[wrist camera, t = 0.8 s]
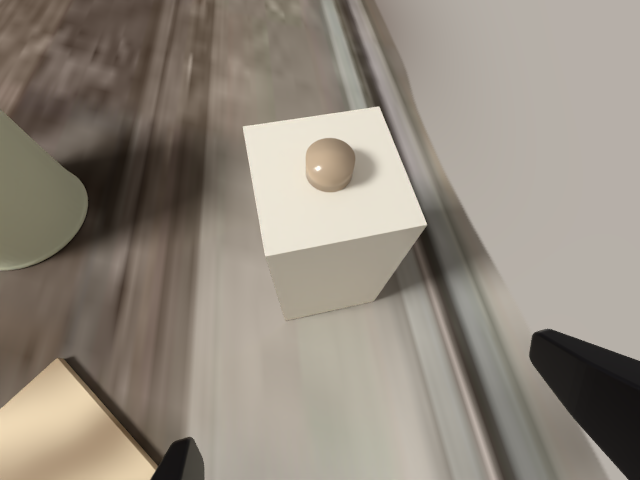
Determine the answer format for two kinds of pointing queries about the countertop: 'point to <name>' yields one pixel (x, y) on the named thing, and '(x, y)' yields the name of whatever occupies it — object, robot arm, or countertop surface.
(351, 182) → the knobbed white block
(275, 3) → the countertop surface
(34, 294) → the countertop surface
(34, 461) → the coaster
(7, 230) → the can
